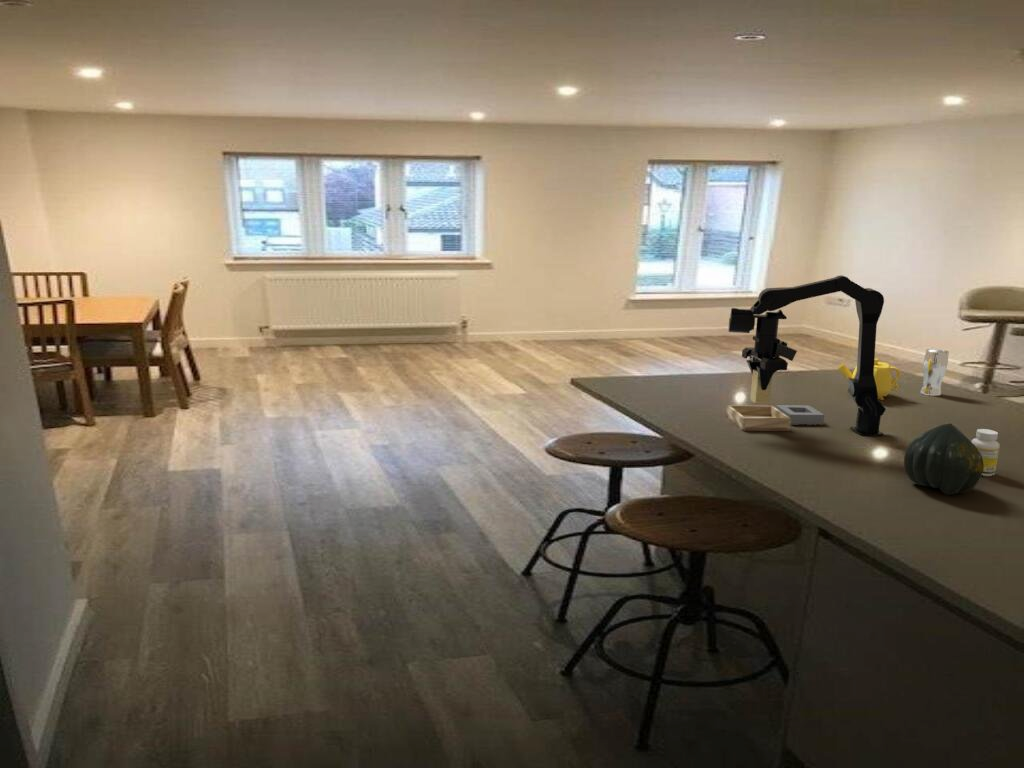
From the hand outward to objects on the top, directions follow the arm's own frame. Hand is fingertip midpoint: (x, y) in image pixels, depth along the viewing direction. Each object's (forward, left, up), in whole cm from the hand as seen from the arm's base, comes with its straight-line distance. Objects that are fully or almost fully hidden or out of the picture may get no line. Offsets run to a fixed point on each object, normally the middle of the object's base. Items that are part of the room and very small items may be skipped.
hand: (760, 388), depth 202 cm
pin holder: (+4, -14, -11) cm, 18 cm away
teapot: (+34, -50, -11) cm, 61 cm away
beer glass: (+36, -74, -11) cm, 83 cm away
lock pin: (0, 0, -4) cm, 4 cm away
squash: (-48, -23, -11) cm, 54 cm away
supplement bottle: (-39, -39, -11) cm, 56 cm away
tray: (0, 0, -11) cm, 11 cm away
